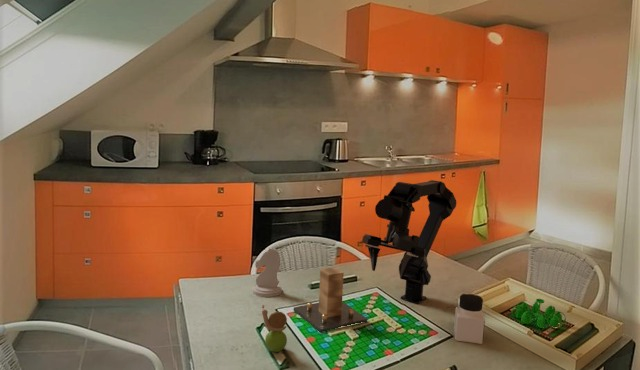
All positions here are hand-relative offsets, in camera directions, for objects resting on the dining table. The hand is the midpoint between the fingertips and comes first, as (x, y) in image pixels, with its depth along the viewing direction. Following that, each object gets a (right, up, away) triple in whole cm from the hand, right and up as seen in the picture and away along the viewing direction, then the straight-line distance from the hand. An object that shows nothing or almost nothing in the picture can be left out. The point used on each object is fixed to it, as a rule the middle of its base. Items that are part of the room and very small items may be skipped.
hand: (387, 273), depth 145 cm
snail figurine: (-32, -15, -23) cm, 42 cm away
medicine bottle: (+21, -16, -11) cm, 28 cm away
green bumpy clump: (+46, -15, +1) cm, 48 cm away
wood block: (-17, -11, -2) cm, 21 cm away
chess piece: (-38, -9, +16) cm, 42 cm away
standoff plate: (-17, -12, -2) cm, 21 cm away
